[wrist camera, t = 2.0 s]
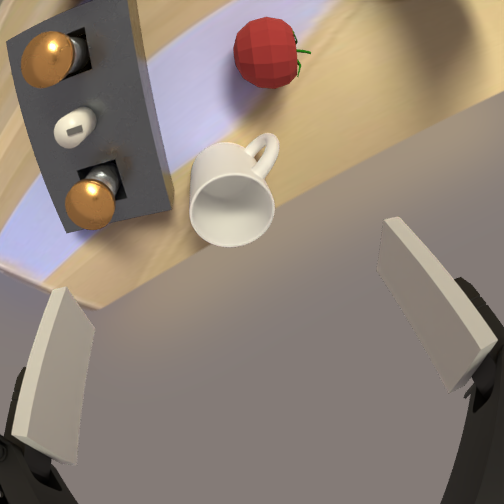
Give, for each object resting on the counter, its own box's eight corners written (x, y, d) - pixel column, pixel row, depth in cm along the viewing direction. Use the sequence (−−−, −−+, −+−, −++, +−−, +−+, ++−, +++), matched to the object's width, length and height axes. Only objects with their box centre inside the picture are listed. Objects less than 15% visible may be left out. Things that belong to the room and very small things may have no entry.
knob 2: (79, 163, 31) (57, 190, 25) (120, 151, 31) (103, 177, 26) (93, 201, 34) (76, 234, 29) (132, 192, 34) (120, 224, 29)
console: (27, 39, 22) (6, 41, 18) (135, -4, 23) (125, -11, 19) (78, 212, 38) (66, 233, 34) (174, 190, 39) (171, 209, 35)
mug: (240, 103, 33) (255, 124, 25) (291, 145, 37) (318, 179, 29) (177, 178, 38) (172, 221, 30) (228, 211, 42) (237, 260, 34)
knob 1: (48, 42, 22) (16, 46, 16) (91, 25, 22) (65, 22, 16) (57, 84, 25) (27, 96, 19) (99, 68, 25) (75, 75, 20)
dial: (65, 112, 25) (49, 122, 22) (92, 102, 26) (78, 111, 22) (73, 139, 27) (58, 153, 24) (99, 131, 28) (87, 143, 24)
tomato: (229, 66, 23) (320, 58, 22) (226, 7, 23) (305, 0, 22) (242, 104, 31) (313, 98, 30) (238, 49, 31) (303, 44, 30)
